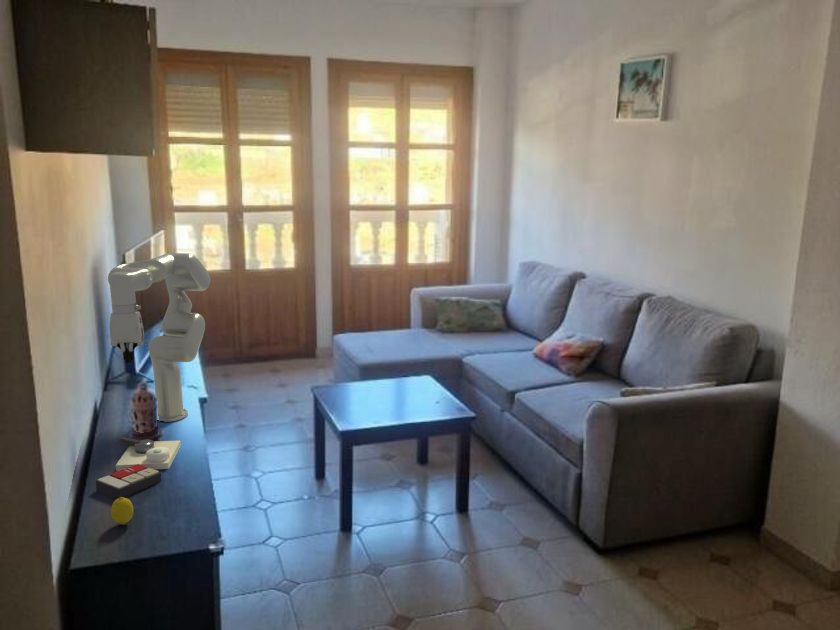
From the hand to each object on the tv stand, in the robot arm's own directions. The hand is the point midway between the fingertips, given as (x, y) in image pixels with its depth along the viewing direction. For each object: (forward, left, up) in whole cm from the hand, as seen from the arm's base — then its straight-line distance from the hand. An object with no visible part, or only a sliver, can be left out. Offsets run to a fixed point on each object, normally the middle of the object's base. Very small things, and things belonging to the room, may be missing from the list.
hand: (129, 361), depth 234 cm
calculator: (+34, +7, -30) cm, 45 cm away
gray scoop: (+10, +3, -27) cm, 29 cm away
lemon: (+57, +12, -29) cm, 65 cm away
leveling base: (+14, +8, -29) cm, 33 cm away
